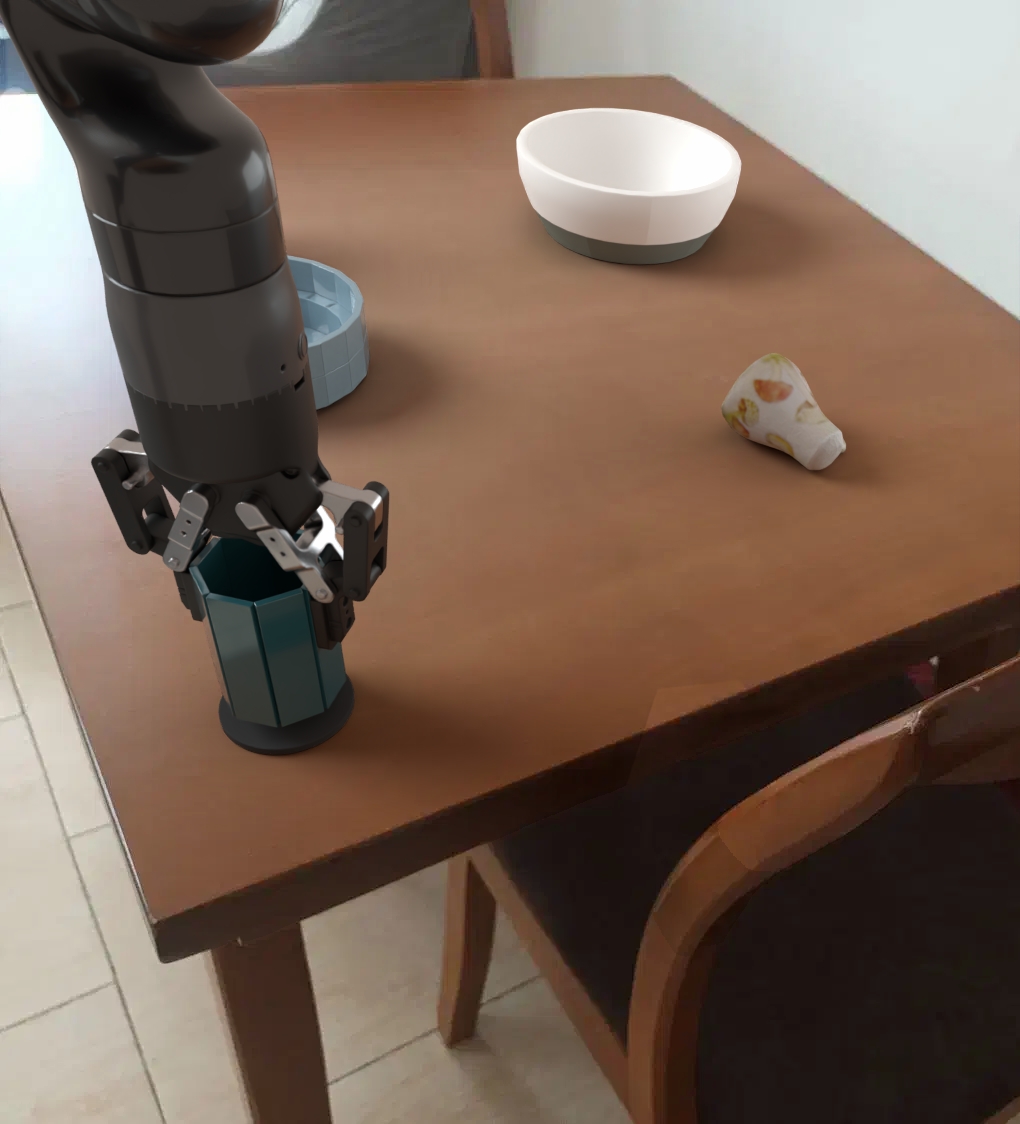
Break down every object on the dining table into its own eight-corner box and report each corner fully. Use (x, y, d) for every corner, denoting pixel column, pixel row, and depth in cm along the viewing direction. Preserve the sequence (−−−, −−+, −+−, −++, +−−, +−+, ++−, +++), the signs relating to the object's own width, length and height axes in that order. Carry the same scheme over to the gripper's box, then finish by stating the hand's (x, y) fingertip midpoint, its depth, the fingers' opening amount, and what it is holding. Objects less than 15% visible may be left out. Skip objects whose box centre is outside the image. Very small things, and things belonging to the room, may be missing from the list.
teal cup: (202, 711, 61) (167, 589, 55) (259, 634, 65) (232, 514, 60) (311, 735, 60) (288, 615, 55) (361, 656, 65) (344, 537, 59)
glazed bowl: (104, 402, 83) (83, 330, 79) (218, 304, 96) (205, 238, 92) (313, 445, 83) (302, 375, 79) (401, 341, 95) (396, 276, 91)
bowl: (705, 184, 128) (713, 111, 123) (756, 277, 112) (767, 197, 107) (506, 180, 122) (505, 102, 117) (529, 278, 106) (529, 193, 101)
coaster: (194, 739, 62) (192, 733, 61) (259, 649, 67) (258, 643, 67) (320, 767, 61) (319, 761, 61) (375, 674, 67) (374, 669, 66)
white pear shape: (815, 500, 86) (768, 387, 81) (737, 484, 93) (690, 380, 88) (877, 447, 89) (836, 336, 84) (798, 436, 96) (755, 333, 92)
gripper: (2, 361, 46) (102, 645, 57) (334, 430, 46) (371, 704, 57) (111, 283, 52) (183, 554, 63) (407, 343, 52) (429, 607, 62)
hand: (272, 624), depth 60 cm, fingers closed on teal cup, 6 cm apart
